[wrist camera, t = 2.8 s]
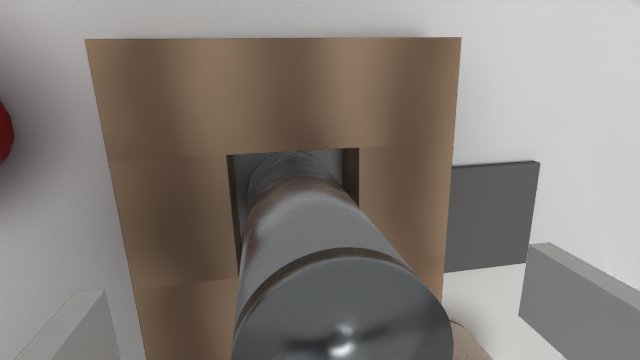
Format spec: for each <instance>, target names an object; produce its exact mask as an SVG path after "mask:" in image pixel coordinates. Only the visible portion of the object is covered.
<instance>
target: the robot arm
mask: <svg viewBox="0 0 640 360" xmlns="http://www.w3.org/2000/svg"><path fill="white" fill-rule="evenodd" d="M518 315H519V316H520V317H521V318H522V319H523V320H524V321H525V322H526V323H528V324H529V325H530V326H531V327H532V328H533V329H534V330H535V331H536V332H538V333H539V334H540V335H541V336H542V337H543V338H544V339H545V340H546V341H548V342H549V343H550V344H551V345H552V346H553V347H554V348H555V349H556V350H558V351H559V352H560V353H561V354H562V355H563V356H564V357H565V358H567V359H568V360H640V292H639V291H638V290H636V289H634V288H632V287H630V286H628V285H627V284H625V283H623V282H621V281H619V280H617V279H616V278H614V277H612V276H610V275H608V274H606V273H605V272H603V271H601V270H599V269H597V268H595V267H594V266H592V265H590V264H588V263H586V262H584V261H583V260H581V259H579V258H577V257H575V256H573V255H572V254H570V253H568V252H566V251H564V250H562V249H561V248H559V247H557V246H555V245H553V244H551V243H550V242H549V243H539V244H530V245H529V249H528V255H527V262H526V268H525V275H524V281H523V288H522V294H521V301H520V308H519V314H518ZM14 360H120V355H119V351H118V346H117V342H116V337H115V333H114V329H113V324H112V320H111V315H110V311H109V306H108V302H107V297H106V293H105V290H97V291H88V292H79V293H74V294H73V295H72V296H71V298H70V299H69V300H68V301H67V302H66V303H65V304H64V305H63V306H62V307H61V309H60V310H59V311H58V312H57V313H56V314H55V315H54V316H53V317H52V318H51V320H50V321H49V322H48V323H47V324H46V325H45V326H44V327H43V328H42V329H41V331H40V332H39V333H38V334H37V335H36V336H35V337H34V338H33V339H32V340H31V342H30V343H29V344H28V345H27V346H26V347H25V348H24V349H23V350H22V351H21V353H20V354H19V355H18V356H17V357H16V358H15V359H14Z"/></svg>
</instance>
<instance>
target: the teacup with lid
mask: <svg viewBox="0 0 640 360" xmlns="http://www.w3.org/2000/svg"><path fill="white" fill-rule="evenodd" d="M450 325H451V328H452V333H453V341H454V349H453V359H452V360H493V359H492V358H491V357H490V356H489V355H488V353H487V352H486V351H485V350H484V349H483V348H482V346H481V345H480V344H479V343H478V342H477V341H476V340H475V338H474V337H473V336H472V335H471V334H470V333H469V332H468V331H467V330H466V329H465V328H463V327H462V326H460V325H458V324H455V323H452V322H450Z"/></svg>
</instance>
